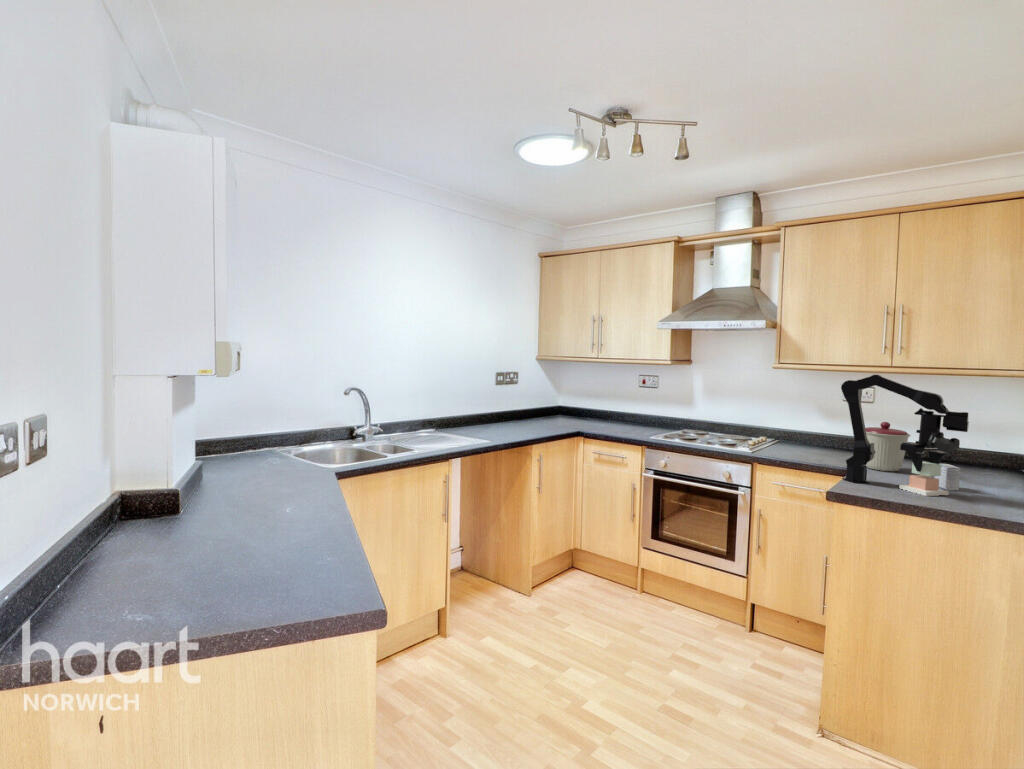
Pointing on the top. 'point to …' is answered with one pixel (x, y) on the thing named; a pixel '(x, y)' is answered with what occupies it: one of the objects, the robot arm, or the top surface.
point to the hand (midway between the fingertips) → (926, 471)
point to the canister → (886, 447)
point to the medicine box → (949, 477)
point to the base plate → (924, 491)
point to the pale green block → (928, 469)
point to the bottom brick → (923, 482)
